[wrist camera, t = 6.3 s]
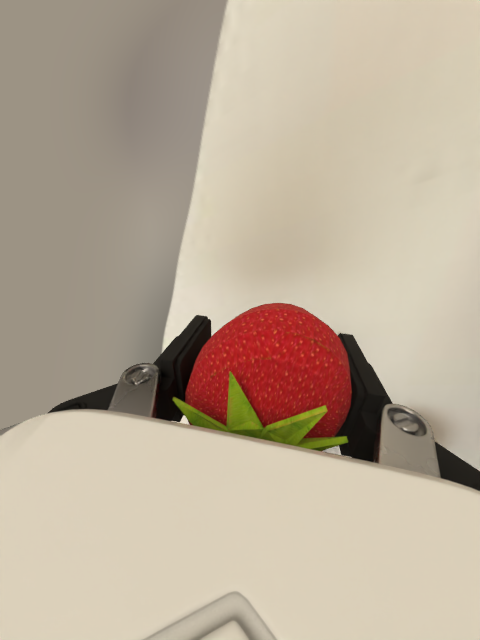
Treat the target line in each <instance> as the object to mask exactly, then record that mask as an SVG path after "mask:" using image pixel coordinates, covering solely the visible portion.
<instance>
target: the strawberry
mask: <svg viewBox="0 0 480 640" xmlns="http://www.w3.org/2000/svg"><path fill="white" fill-rule="evenodd" d="M351 393H352V390H351V377H350V366H349V361H348V356H347V352H346V350H345V348H344V346H343V344H342V342H341V340H340V338H339V337H338V336H337V335H336V334H335V333H334V331H333V330H332V329H331V328H330V327H329V326H328V325H326V324H325V323H324V322H322V321H321V320H319V319H318V318H317V317H315V316H314V315H312V314H311V313H309V312H308V311H306V310H305V309H303V308H300V307H297V306H294V305H292V304H283V303H272V304H264V305H261V306H258V307H255V308H251V309H250V310H248V311H246V312H244V313H242V314H240V315H239V316H237V317H236V318H234V319H233V320H231V321H230V322H228V323H227V324H226V325H224V326H223V327H222V328H221V329H220V330H218V331H217V332H216V333H215V334H214V335H213V336H212V337H211V338H210V339H209V340H208V341H207V342H206V344H205V345H204V346H203V347H202V349H201V351H200V353H199V355H198V357H197V358H196V361H195V364H194V367H193V370H192V373H191V376H190V379H189V382H188V386H187V389H186V393H185V403H184V402H183V401H181V400H179V399H177V398H176V397H174V398H173V401H174V402H175V404H176V405H177V406H178V407H179V409H180V410H181V411H182V412H183V414H184V415H185V416H186V418H187V419H188V422H189V424H190V425H193V426H198V427H203V428H208V429H213V430H218V431H223V432H228V433H233V434H238V435H243V436H248V437H253V438H258V439H263V440H268V441H273V442H278V443H282V444H287V445H292V446H297V447H302V448H307V449H312V450H316V451H321V452H322V451H323V450H325V449H328V448H332V447H335V446H338V445H341V444H344V443H348V440H347V437H346V436H343V437H335V435H336V434H337V433H338V431H339V430H340V428H341V426H342V425H343V423H344V422H345V420H346V417H347V414H348V412H349V409H350V405H351Z"/></svg>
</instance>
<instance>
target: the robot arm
mask: <svg viewBox="0 0 480 640" xmlns="http://www.w3.org/2000/svg"><path fill="white" fill-rule="evenodd" d="M338 337H339V338H340V340H341V342H342V344H343V346H344V348H345V350H346V352H347V356H348V361H349V366H350V377H351V390H352V393H351V405H350V409H349V412H348V414H347V417H346V420H345V422H344V423H343V425H342V426H341V428H340V430H339V431H338V433H337V434H336V435H335V437H343V436H346V437H347V440H348V443H344V444H341V445H339V447H340V451H341V455H345V456H350V457H352V458H350V457H345V456H341V455H336V454H331V453H326V452H321V451H316V450H312V449H307V448H302V447H297V446H292V445H287V444H282V443H278V442H273V441H268V440H263V439H258V438H253V437H248V436H243V435H238V434H233V433H228V432H223V431H218V430H213V429H208V428H203V427H198V426H193V425H187V424H182V423H177V422H180V421H181V419H182V417H183V415H184V414H183V412H182V411H181V410H180V409H179V407H178V406H177V405H176V404H175V402H174V401H173V398H174V397H176V398H177V399H179V400H181V401H183V402H184V403H185V393H186V389H187V386H188V382H189V379H190V376H191V373H192V370H193V367H194V364H195V361H196V358H197V357H198V355H199V353H200V351H201V349H202V347H203V346H204V345H205V344H206V342H207V341H208V340H209V339H210V338H211V320H210V319H208V318H207V316H199V315H196V316H195V317H194V319H193V320H192V321H191V322H190V323H189V325H188V326H187V327H186V328H185V329H184V330H183V332H182V333H181V334H180V335H179V336H177V337H176V338H175V339H174V340H173V341H172V342H171V343H170V345H169V346H168V347H167V348H166V349H165V350H164V352H163V353H162V354H161V355H160V356H159V357H158V359H157V360H156V361H155V362H154V363H153V364H150V363H142V364H137V365H134V366H132V367H130V368H128V369H127V370H126V371H124V372H123V374H122V375H121V377H120V380H119V382H118V384H115V385H112V386H109V387H106V388H103V389H100V390H97V391H95V392H91V393H89V394H86V395H83V396H80V397H77V398H74V399H71V400H68V401H66V402H63V403H61V404H60V405H58V406H56V407H54V408H53V409H52V410H51V411H50V412H48V413H47V414H44V415H40V416H37V417H34V418H31V419H29V420H26V421H24V422H21V423H18V424H16V425H13V426H10V427H8V428H4V429H2V430H0V640H480V471H478V470H477V469H475V468H474V467H472V466H471V465H469V464H468V463H466V462H465V461H463V460H462V459H460V458H459V457H457V456H456V455H454V454H453V453H451V452H450V451H448V450H447V449H445V448H444V447H442V446H441V445H439V444H438V443H436V442H435V441H434V435H433V431H432V428H431V426H430V425H429V423H428V422H427V421H426V420H425V419H424V418H423V417H422V416H421V415H420V414H418V413H417V412H415V411H414V410H412V409H410V408H408V407H405V406H402V405H399V404H393V403H392V402H391V400H390V398H389V396H388V395H387V393H386V391H385V389H384V387H383V386H382V384H381V382H380V380H379V378H378V377H377V375H376V373H375V371H374V370H373V368H372V366H371V365H370V364H369V363H368V362H367V360H366V359H365V357H364V355H363V353H362V351H361V349H360V348H359V346H358V344H357V342H356V340H355V338H354V337H353V335H349V334H341V333H340V334H339V335H338ZM172 421H176V422H172Z"/></svg>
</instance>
